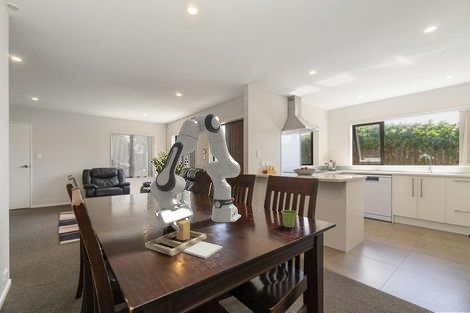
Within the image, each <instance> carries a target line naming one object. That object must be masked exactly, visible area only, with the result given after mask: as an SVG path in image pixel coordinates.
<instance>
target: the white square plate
mask: <svg viewBox="0 0 470 313" xmlns="http://www.w3.org/2000/svg"><path fill="white" fill-rule="evenodd" d="M222 249H223V246H222V245H218V244H214V243H210V242H206V241H204V240H202V241H200V242H198V243H196V244H194V245H192V246H190V247H189V248H187V249H185V250H183V251H182V252H183V253H185V254H189V255H191V256H195V257H197V258H198V257H199V258H202V259H205V260H207V259H208V258H209V257H211V256H213V255H214V254H216V253H217V252H218V251H220V250H222Z"/></svg>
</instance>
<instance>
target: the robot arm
mask: <svg viewBox="0 0 470 313" xmlns="http://www.w3.org/2000/svg"><path fill="white" fill-rule="evenodd" d="M203 134H204V135H207V142H208V145H209V150H210V154H211V156H213V157H214V158H215V159H216V160H213V161H210V162H208V163H207V164H206V167H205V171H206V173H207V175H208V176H209V177H210V179H211V181H212V184H213V191H214V192H213V195H214V198H213V206H212V212H211V215H210V218H211V221H212V222H216V223H235V222H236V221H238V219H239V220H240V218H241V217H242V215H241V214H239V213H238V207H237V206H235V205H234V204H233V202H234V201H235V198H234V197H232V187H231V185H230V184H229V183H228V182H227V180H226V179H231V178H233V179H234V178H236V177H238V176H239V175H240V173H241V166H240V164H239V162H237V161H236V160H235V159H234V158H233V157H232V156H231V154H230V152H229V149H228V146H227V141H226V137H225V132H224V130H223V127H222V125H221V119H220V117H218V116H217V115H216V114H213V113H209V114H200V115H197V116H193V117H191V118H187V119H185V121H184V122H183V123H182V125H181V127H180V129H179V132H178V135H177V138H176V140H175V142H174V143H173V144H172V145H171V148H170V149H169V152H168V153H167V156H166V159H165V161H164V164H163V165H162V168H161V170H160V171H159V172H158V174H157V175H156V177H155V180H154V181H153V182H152V183H151V184H150V187H149V188H150V193H151V195H152V197H153V199H154V201H155V202H157V204H158V207H159V208H160V209H156V210H155V212H154V215H155V216H156V220H157V222H158V224H159V227H161V228H162V229H165V228H168V227H170V226H171V227H172V228H173V229H175V231H177V232H179V231H181V227H180V226H177V222H179V221H182V220H185V221H189V220H190V219H192V217H194V212H193V210H192V208H191V207H190V206H189V204H187V202H186V200H185V199H180V198H176V197H175V196H177V195H179V194H180V193H182V192H183V191H184V190H185V189H186V186H187V182H186V179H185V178H184V177H183V176H181V175H179V174H177V173H176V170H177V168H178V166H179V163H180V162H179V161H180V160H181V158H182V156H184V155H189V154H191V153H193V152H194V151H195V149H196V148H197V145H198V142H199V136H200V135H203Z"/></svg>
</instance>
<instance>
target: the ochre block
mask: <svg viewBox="0 0 470 313" xmlns="http://www.w3.org/2000/svg"><path fill="white" fill-rule="evenodd" d="M190 224H191V221H189V220H188V221H185V220H182V221H179V222H177V223H176V225H177V226H180V227H181V231H179V232H177V236H176V240H180V241H185V240H188V239H190V238H191V236H190V231H191V225H190Z"/></svg>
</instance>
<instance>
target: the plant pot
mask: <svg viewBox="0 0 470 313" xmlns="http://www.w3.org/2000/svg"><path fill="white" fill-rule="evenodd" d="M280 212H281V215H282V221H283V226H284V227H286V228H288V227H289V228H290V229H291V227H292V228H295V224H296V217H297V214H298V212H297V211H296V210H290V209H284V210H281V211H280Z"/></svg>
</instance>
